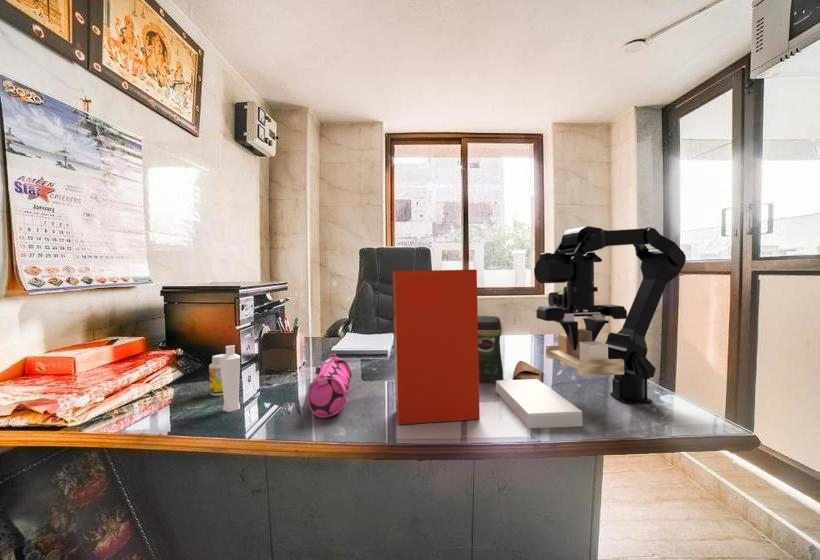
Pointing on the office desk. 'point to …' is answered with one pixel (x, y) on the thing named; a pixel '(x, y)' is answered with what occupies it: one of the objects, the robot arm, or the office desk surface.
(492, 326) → the coffee jar
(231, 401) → the white plastic bottle
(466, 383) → the file binder
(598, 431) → the office desk surface
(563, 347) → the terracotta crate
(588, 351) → the cream crate
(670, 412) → the office desk surface
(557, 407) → the white flat block
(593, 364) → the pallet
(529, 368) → the sunglasses case
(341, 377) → the pencil case
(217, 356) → the supplement bottle
